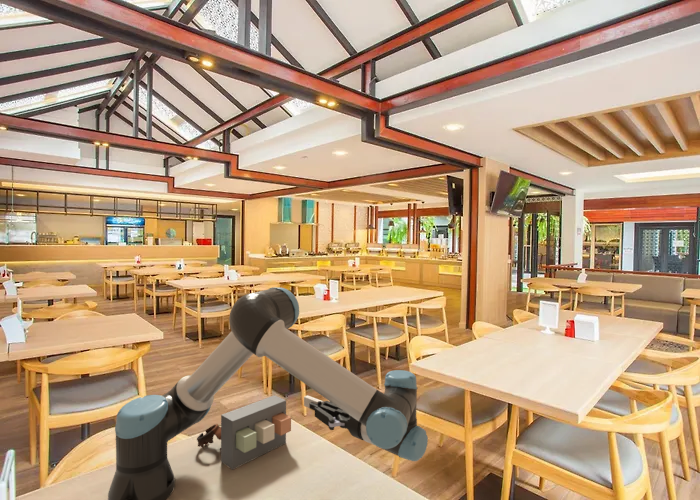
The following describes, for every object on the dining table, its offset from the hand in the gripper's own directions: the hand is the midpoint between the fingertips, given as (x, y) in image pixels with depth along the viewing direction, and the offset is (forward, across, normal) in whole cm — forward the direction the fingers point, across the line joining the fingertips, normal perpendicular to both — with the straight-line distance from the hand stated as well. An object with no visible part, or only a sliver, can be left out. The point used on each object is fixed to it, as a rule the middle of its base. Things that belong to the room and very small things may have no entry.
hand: (305, 400), depth 115 cm
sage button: (+11, -13, -13) cm, 21 cm away
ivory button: (+11, -7, -13) cm, 18 cm away
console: (+16, -7, -18) cm, 25 cm away
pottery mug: (+27, -13, -18) cm, 35 cm away
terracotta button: (+11, 0, -13) cm, 17 cm away
